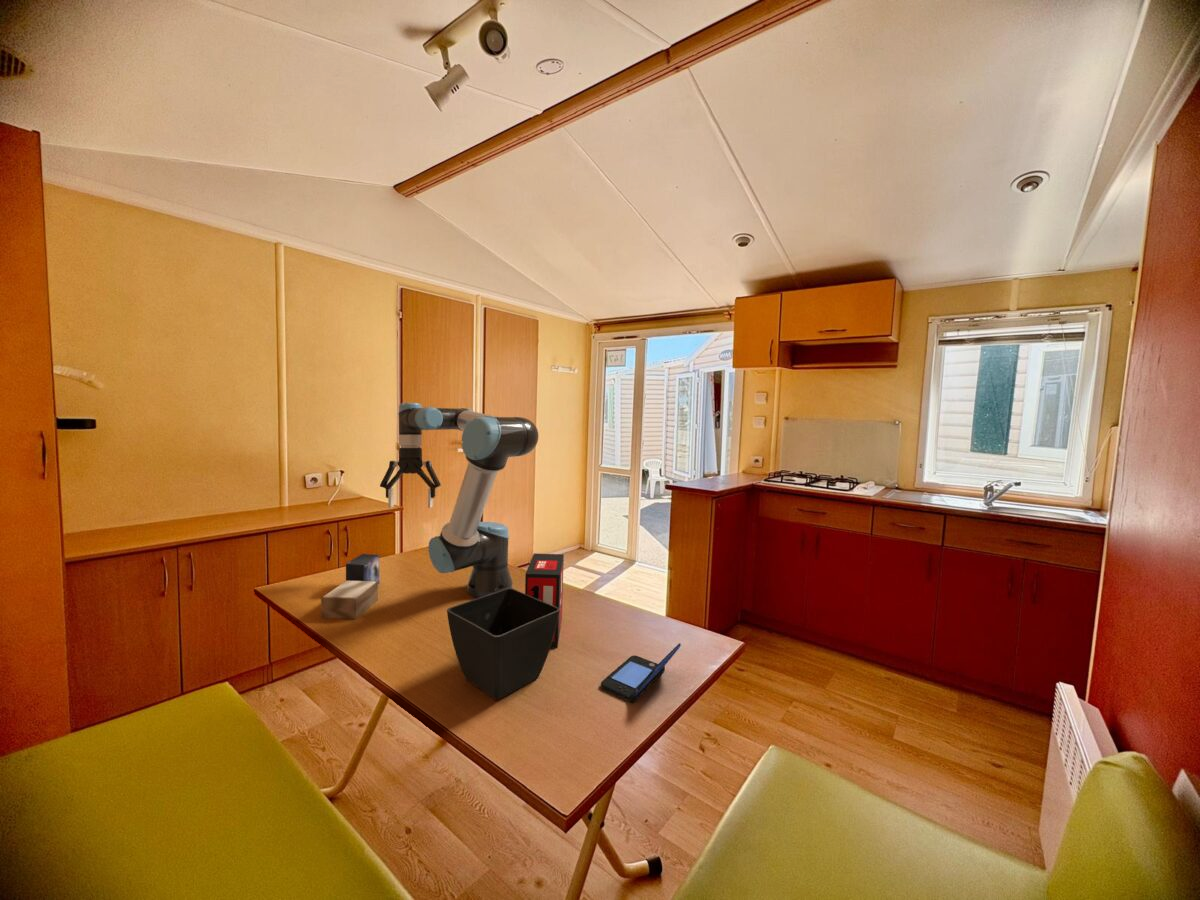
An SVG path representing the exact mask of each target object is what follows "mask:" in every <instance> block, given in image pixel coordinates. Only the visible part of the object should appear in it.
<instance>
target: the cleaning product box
mask: <svg viewBox="0 0 1200 900" xmlns="http://www.w3.org/2000/svg"><path fill="white" fill-rule="evenodd" d="M564 557H565V556H564V553H563V554H562V553H561V554H559V553H535V552H534V553H533V554H532V557H531V559H530V561H529V565H528V567H527V568H526V571H525V575H524V576H525V582H524V583H525V585H524V594H527V595H529V596H531V597H534V598H536V599H538V600H541V601H543V602H546V603H548V604H550V605H553V606H555V607H557V608H559V609H560V611H559V617H558V622H557V626H556V630H555V634H554V638H553V641H552V644H551V647H550V649H551V648H552V649H559V648H558V647H559V641H560V640H559V639H560V634H561V628H562V620H563V619H562V618H563V598H564V597H563V596H564V595H563V594H564V593H563V591H564V589H563V588H564V561H565V560H564Z"/></svg>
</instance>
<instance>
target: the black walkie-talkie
mask: <svg viewBox="0 0 1200 900" xmlns="http://www.w3.org/2000/svg"><path fill="white" fill-rule="evenodd" d="M681 646H682V644H681V642H679V643H678V644H677V645H676V646H675V647H673V649H672V650H671V651H670V652H669V653H668V654H666V656H665V657H664V658H663V659H662V660H661V661H659V663H656V662H654V661H652V660H649V659H646V658H644V657H641V656H639V655H631V656H629V657H628V658H626V660H625V661H623V662H622V663H621V664H620V665H619V666H618V667H617V668H616V669H615V670H613V671H612V672H610V673H609V674H608V676H606V677H605V678H604V679H603V680H602V681H601V683H600V687H601V689H602V690H604V691H605V692H608V693H611V694H613V695H614V696H616V697H618V698H621V699H624V700H626V701H627V702H629V703H631V704H634V703H636V702H637V701H638V699H640V697H641V696H642V695H643V694H644V693H645V692H646V691H647V688H648V687H649V686H650V685H652V684H653V683H654V682H655V681H656V680H658V678H660V676H662V675H663V674H664V673H665V670H666V668H665V667H666V665H667V664H668V662H669V661H670V660H671V659H672V658H673V656H674V655H675V654H676V653H677V652H678V650H679V649H680V648H681Z"/></svg>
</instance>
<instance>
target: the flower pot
mask: <svg viewBox="0 0 1200 900" xmlns="http://www.w3.org/2000/svg"><path fill="white" fill-rule="evenodd" d="M559 611H560V609H559V608H557V607H555V606H553V605H550V604H548V603H546V602H543V601H541V600H538V599H536V598H534V597H531V596H529V595H527V594H525V592H522V591H519V590H517V589H514V588H513V587H512V588H507V589H504V590H501V591H498V592H495V593H492V594H489V595H486V596H483V597H480V598H478V597H476V598H474V599H471V600H469V601H465V602H462V603H460V604H457V605H454V606H451V607H449V608H447V609H446V615H447V621H448V626H449V631H450V637H451V640H452V645H453V648H454V652H455V655H456V658H457V662H458V664H459V666H460V670H461V671H462V675H463V676H464V678H465V680H467V681H468V682H469V683H471V684H473V685H474V686H475V687H477V688H478V689H480V690H481V691H483V692H484V693H485V694H487V695H488V696H490V697H491V698H492V699H494V700H500V699H502V698H505V697H507V696H508V695H510V694H512V693H513V692H516V691H517V690H519V689H520V688H523V687H524V686H526V685H528V684H529V683H531V682H533V681H535V680H536V679H538V678H539V677H540V675H541V673H542V671H543V669H544V666H545V663H546V662H547V661H546V660H547V659H548V656H549V653H550V650H551V648H550V647H551V644H552V641H553V638H554V634H555V630H556V626H557V622H558V617H559Z"/></svg>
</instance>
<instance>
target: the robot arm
mask: <svg viewBox="0 0 1200 900" xmlns="http://www.w3.org/2000/svg"><path fill="white" fill-rule="evenodd" d="M397 414H398V446H399V448H398V461H395V460H389V464H388V468H387V470H386V472H385V474H384V476H383V477H382V480H381V482H380V484H379V487H381V488H384V489H385V498H387V499H388V501H387V502H388V503H387V504H388V507H387V508H389V509H390V508H394V505H395V503H394V502H395V501H394V500H395V496H394V495H395V493H394V491H395V489H394V488H393V486H394V485H395V483H397V482H398V481H399V479H400V478H401V476H403V475H404V474H405V475H407V474H417V475H418V476H419V477H420V478H421V480H422V481H423V482H424V483H425V484H426V485H427V486H428V487H429V488H428V489H427V508H433V506H434V505H433V503H434V501H433V498H436V489H437V488H439V487H441V485H442V484H441V482H440V480H439V478H438V476H437V474H436V472H435V469H433V466H432V465H433V464H432V461H431V460H426V461H423V448H422V445H423V435H422V434H423V431H437V430H438V431H439V430H440V431H441V430H444V431H445V430H446V431H447V430H457V431H461V432H462V435H461V442H462V443H461V448H462V452H463V454H464V456H465V459H466V461H467V467H466V469H465V473H464V477H463V479H462V481H461V485H460V488H459V492H458V495H457V498H456V500H455V504H454V507H453V511H452V513H451V517H450V520H449V522H447V523H445V524H444V525H443V526H442V528H441V531H440V533H439V535H438V536H434V537H431V538H430V540H429V541H428V555H429V559H430V562H431V564H432V565H433V568H434V569H435V570H436V571H437V572H438V573H441V574H449V573H454V572H457V571H460V570H463V569H467V568H470V567H472V569H471V573H470V576H469V578H468V581H467V588H466V589H467V593H468V594H469V595H470V596H471V597H474V598H480V597H483V596H486V595H489V594H492V593H495V592H498V591H501V590H504V589H507V588H512V589H513V587H514V586H513V580H512V576H511V573H510V570H509V567H508V565H509V563H508V561H509V560H508V559H509V538H510V536H509V528H508V527H507V525H505V524H503V523H499V522H493V521H481V519H482V517H483V514H484V510H485V508H486V506H487V505H486V504H487V502H488V500H489V497H490V494H491V492H492V488H493V486H494V483H495V480H496V477H497V474H498V472H500V471H502V470H504V469H505V468H506V464H507V462H508V459H509V458H511V457H512V458H513V457H515V458H516V457H521V456H526V455H527V454H529V453H531V452H532V451H533V450H534V449H535V448H536V446H537V444H538V442H539V431H538V428H537V426H536V424H534V422H533V421H531V420H530V419H528V418H525V417H521V416H520V417H519V416H509V417H508V416H497V415H496V416H495V415H491V414H485V413H482V412H478V411H474V410H473V409H471V408H464V407H463V408H447V407H446V408H445V407H433V406H424V407H422V404H420V403H419V402H402V403H400V404H399V405H398V413H397ZM397 466H398V467H399V469H398V471H396V473H395V475H394V476H393V477H392V478H391V476H392V474H393V473H394V470H395V468H397ZM423 466H424V467H425V468H426V470H427V472H428V474H429V476H430V477H428V476H427V474H426V473H425V472H424V470H423V469H422V467H423ZM430 478H431V479H430Z"/></svg>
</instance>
